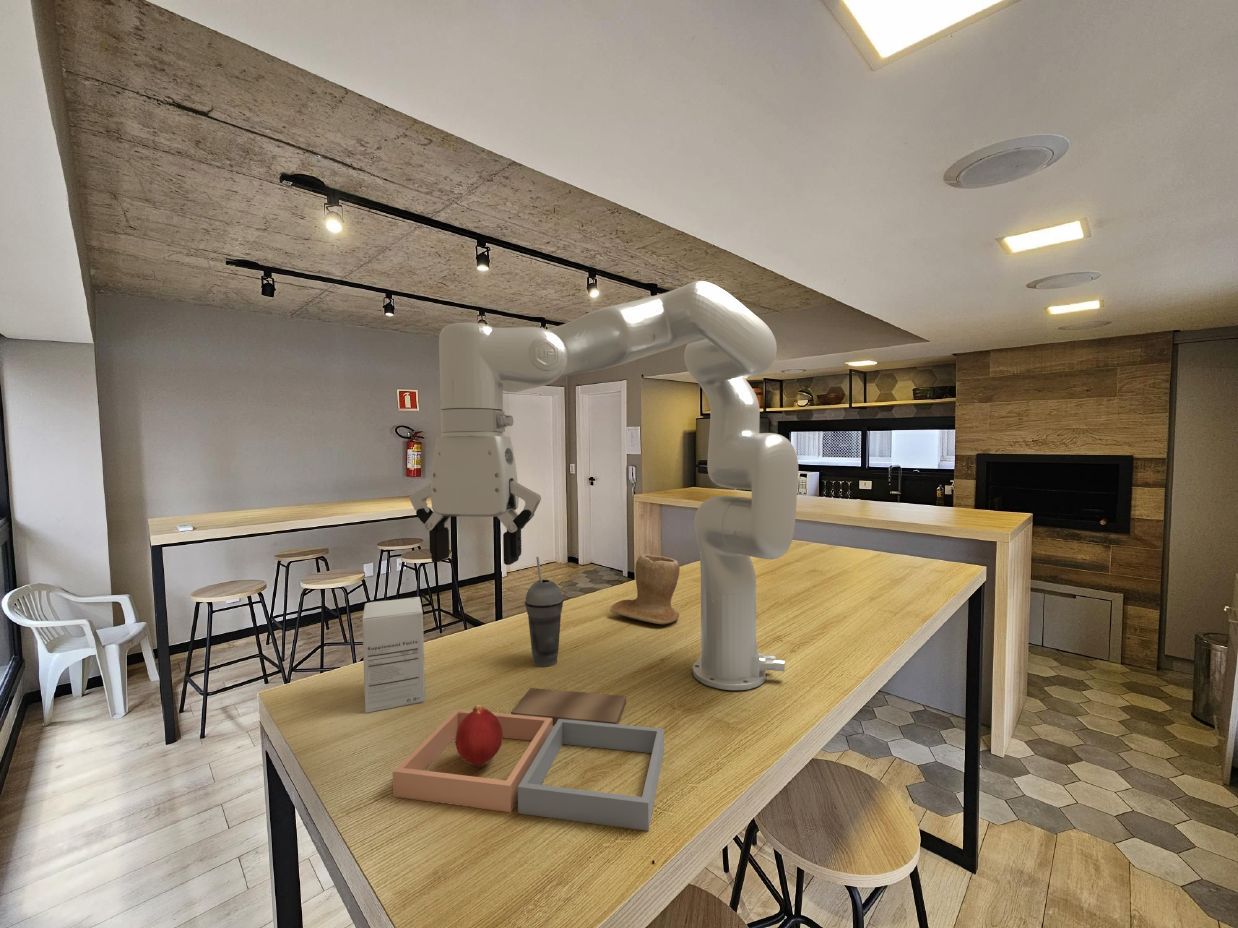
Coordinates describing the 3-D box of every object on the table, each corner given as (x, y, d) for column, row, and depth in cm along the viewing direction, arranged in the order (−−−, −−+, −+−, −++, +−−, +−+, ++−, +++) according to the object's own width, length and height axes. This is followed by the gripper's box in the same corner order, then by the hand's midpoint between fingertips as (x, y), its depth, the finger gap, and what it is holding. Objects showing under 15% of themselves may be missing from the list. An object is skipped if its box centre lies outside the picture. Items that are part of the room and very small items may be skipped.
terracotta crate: (552, 739, 72) (552, 717, 72) (510, 812, 58) (510, 785, 57) (456, 729, 75) (455, 708, 75) (393, 796, 60) (392, 771, 60)
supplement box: (366, 689, 88) (364, 601, 87) (423, 679, 91) (420, 595, 91) (363, 714, 79) (360, 618, 79) (425, 702, 83) (423, 610, 82)
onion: (462, 753, 69) (460, 694, 69) (505, 750, 69) (504, 692, 69) (451, 781, 63) (449, 717, 63) (499, 778, 64) (498, 714, 63)
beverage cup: (557, 671, 94) (555, 561, 93) (519, 668, 95) (517, 560, 95) (569, 655, 101) (567, 553, 100) (534, 652, 102) (532, 552, 102)
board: (626, 703, 82) (626, 695, 82) (615, 730, 74) (615, 722, 74) (530, 694, 85) (530, 687, 85) (510, 720, 77) (510, 712, 77)
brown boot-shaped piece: (690, 617, 122) (689, 554, 122) (662, 632, 113) (661, 564, 112) (638, 606, 132) (638, 547, 131) (608, 618, 122) (608, 555, 122)
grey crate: (664, 750, 69) (663, 728, 69) (648, 830, 55) (648, 802, 54) (559, 739, 72) (558, 718, 72) (518, 813, 57) (517, 786, 57)
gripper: (548, 425, 67) (550, 557, 67) (426, 428, 70) (429, 553, 71) (526, 422, 59) (529, 570, 60) (392, 426, 63) (395, 565, 63)
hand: (475, 561), depth 65 cm, fingers open, 9 cm apart
